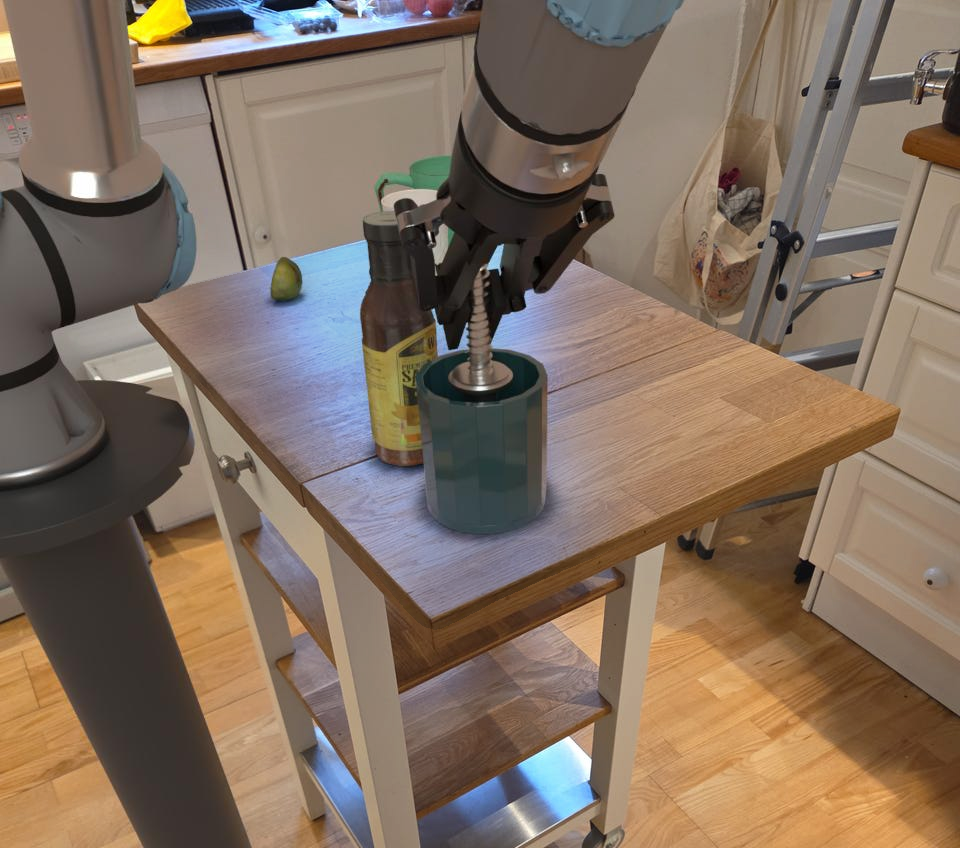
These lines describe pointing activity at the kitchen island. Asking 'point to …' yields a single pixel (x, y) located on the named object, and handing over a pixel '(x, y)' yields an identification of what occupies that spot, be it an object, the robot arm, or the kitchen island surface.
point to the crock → (484, 446)
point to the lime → (286, 280)
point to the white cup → (419, 198)
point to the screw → (480, 350)
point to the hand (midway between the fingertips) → (465, 329)
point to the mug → (419, 178)
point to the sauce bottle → (393, 343)
